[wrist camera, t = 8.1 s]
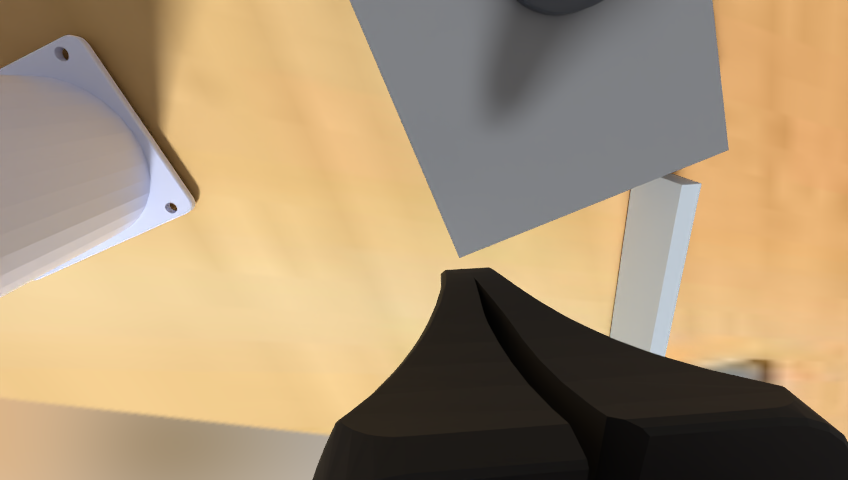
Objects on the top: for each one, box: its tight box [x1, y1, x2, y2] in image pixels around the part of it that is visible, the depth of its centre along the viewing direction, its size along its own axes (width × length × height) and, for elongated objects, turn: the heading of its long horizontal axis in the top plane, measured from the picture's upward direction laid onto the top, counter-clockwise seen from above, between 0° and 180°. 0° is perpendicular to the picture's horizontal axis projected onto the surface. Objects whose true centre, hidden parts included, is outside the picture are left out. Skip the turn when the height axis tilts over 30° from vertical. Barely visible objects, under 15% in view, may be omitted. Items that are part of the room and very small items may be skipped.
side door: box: [610, 173, 701, 357], centre depth 20 cm, size 13×1×4 cm, turn 4°
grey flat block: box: [350, 0, 729, 258], centre depth 15 cm, size 12×14×4 cm
